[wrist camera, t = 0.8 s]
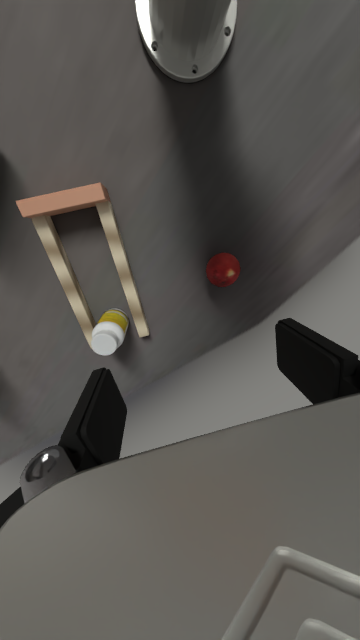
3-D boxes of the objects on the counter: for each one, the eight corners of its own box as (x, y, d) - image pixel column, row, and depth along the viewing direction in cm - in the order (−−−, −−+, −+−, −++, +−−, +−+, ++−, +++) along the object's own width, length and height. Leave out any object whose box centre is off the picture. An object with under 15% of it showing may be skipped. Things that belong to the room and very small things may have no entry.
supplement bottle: (101, 306, 39) (86, 328, 30) (130, 309, 40) (122, 331, 31) (101, 330, 41) (86, 358, 32) (128, 333, 42) (120, 360, 33)
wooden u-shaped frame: (31, 204, 31) (15, 201, 28) (106, 188, 32) (100, 182, 28) (93, 343, 42) (88, 354, 38) (149, 330, 42) (148, 340, 39)
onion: (221, 286, 40) (236, 298, 33) (196, 274, 39) (206, 284, 31) (236, 259, 38) (256, 265, 31) (211, 245, 37) (225, 248, 30)
